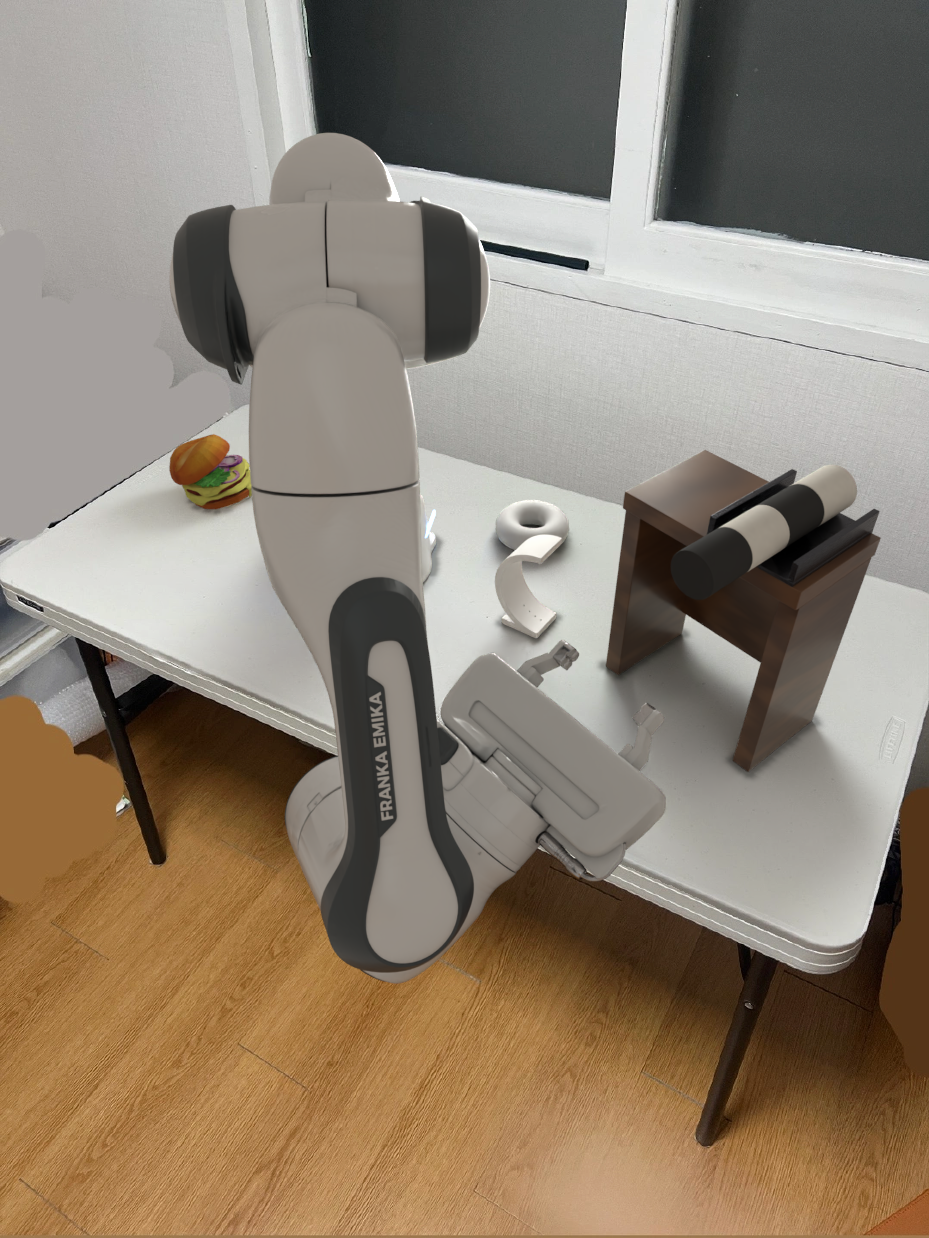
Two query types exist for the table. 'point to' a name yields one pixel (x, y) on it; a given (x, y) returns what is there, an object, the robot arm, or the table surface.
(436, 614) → the table surface
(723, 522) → the tray
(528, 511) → the donut
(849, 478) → the roll
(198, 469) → the cheeseburger
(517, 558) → the headphone stand
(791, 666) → the shelf
